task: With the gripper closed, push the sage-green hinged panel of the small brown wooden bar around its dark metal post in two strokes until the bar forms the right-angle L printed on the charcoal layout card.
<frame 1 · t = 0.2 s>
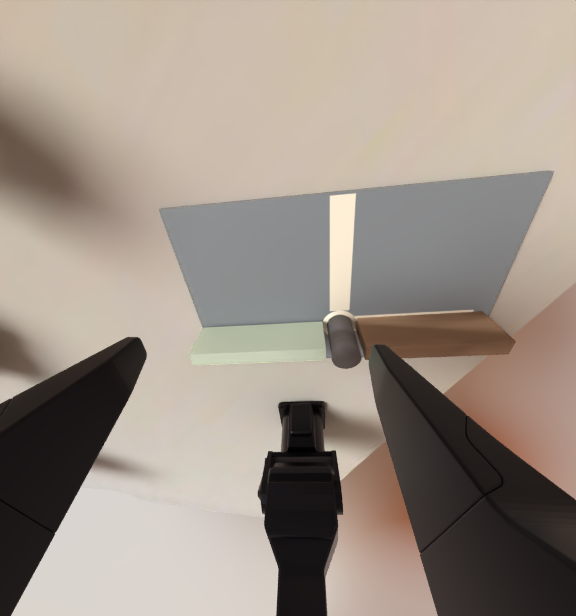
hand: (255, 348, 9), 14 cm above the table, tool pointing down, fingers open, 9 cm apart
swing panel: (259, 342, 25), point 3 cm above the table, hinge at 0.0°
brown wooden bar: (410, 336, 23), on the layout card
layout card: (339, 290, 24), on the table
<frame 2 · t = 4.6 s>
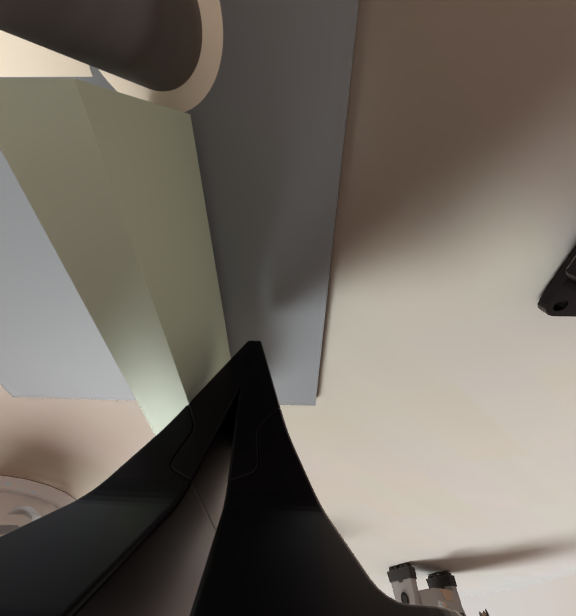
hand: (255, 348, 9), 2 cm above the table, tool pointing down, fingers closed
swing panel: (187, 344, 8), point 3 cm above the table, hinge at 0.5°, touching gripper
figurine: (428, 564, 35), on the table
layout card: (3, 27, 6), on the table
french press: (33, 498, 25), on the table
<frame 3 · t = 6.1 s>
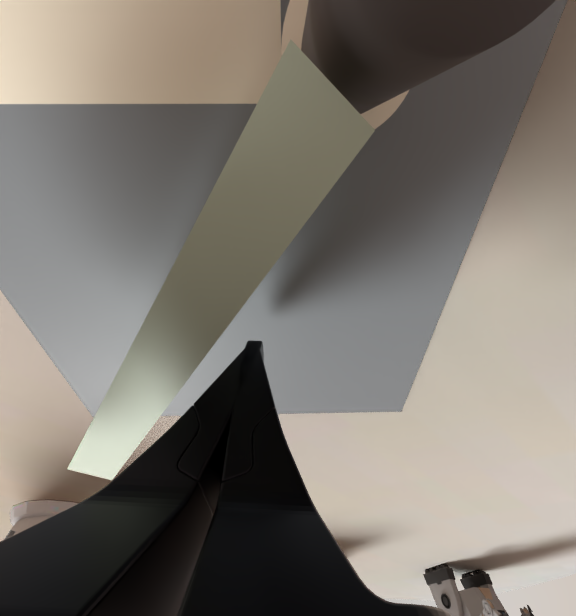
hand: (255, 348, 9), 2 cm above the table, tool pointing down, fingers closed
swing panel: (184, 322, 8), point 3 cm above the table, hinge at 36.8°, touching gripper
figurine: (464, 564, 35), on the table
layout card: (198, 57, 6), on the table
french press: (74, 521, 24), on the table
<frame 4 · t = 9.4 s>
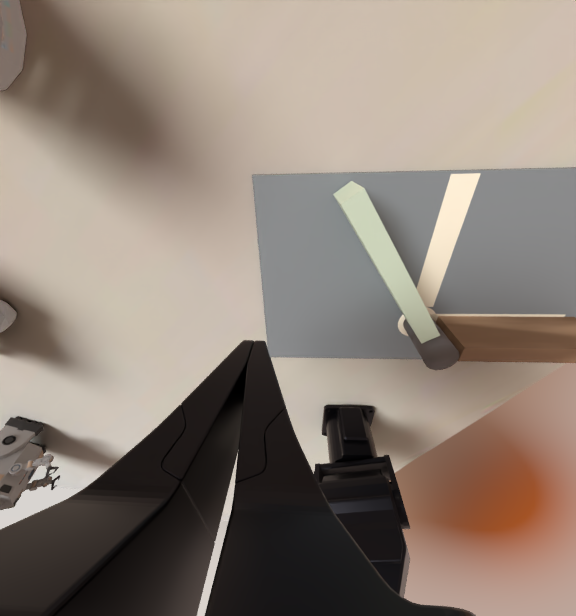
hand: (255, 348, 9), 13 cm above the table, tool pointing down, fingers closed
swing panel: (388, 267, 18), point 3 cm above the table, hinge at 54.9°
brown wooden bar: (503, 339, 21), on the layout card
figurine: (47, 435, 40), on the table
layout card: (426, 283, 22), on the table
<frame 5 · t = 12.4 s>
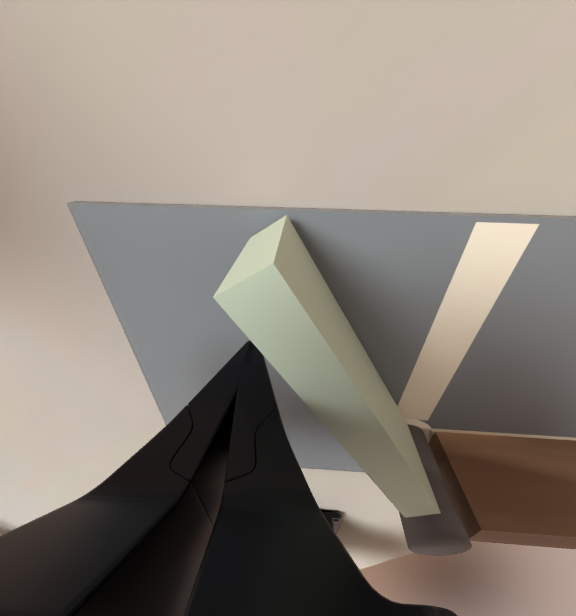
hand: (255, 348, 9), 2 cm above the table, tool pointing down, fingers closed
swing panel: (354, 388, 9), point 3 cm above the table, hinge at 57.7°, touching gripper
brown wooden bar: (543, 491, 13), on the layout card
layout card: (419, 388, 13), on the table
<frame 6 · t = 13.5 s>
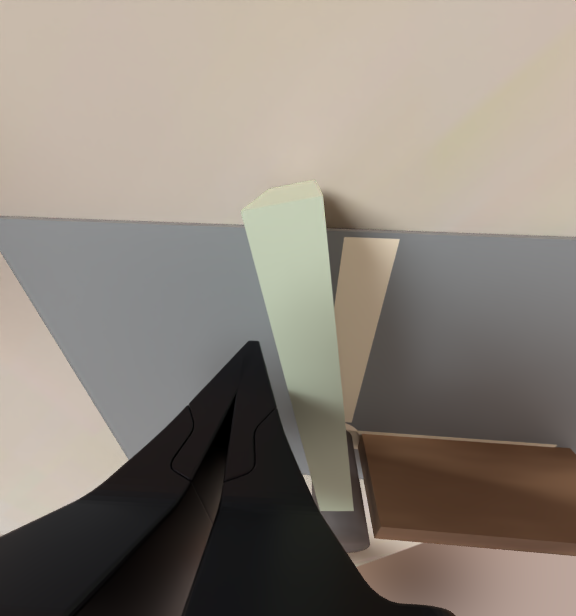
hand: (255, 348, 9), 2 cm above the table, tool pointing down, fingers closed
swing panel: (317, 374, 9), point 3 cm above the table, hinge at 78.5°, touching gripper
brown wooden bar: (455, 491, 13), on the layout card
layout card: (338, 391, 14), on the table
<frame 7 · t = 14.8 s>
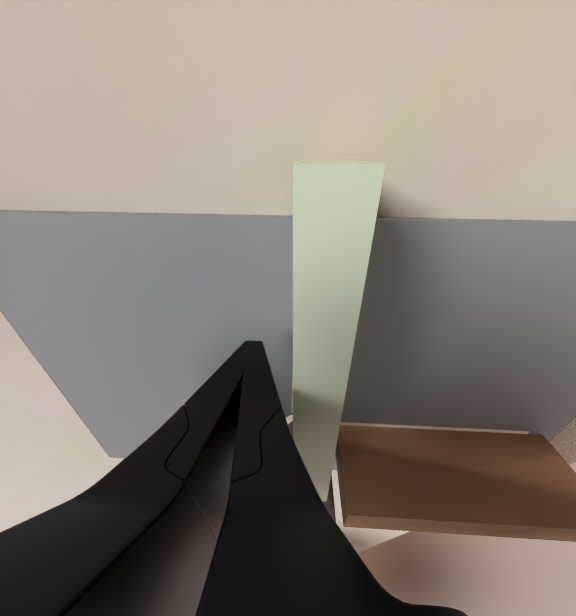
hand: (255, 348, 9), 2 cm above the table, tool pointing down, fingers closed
swing panel: (314, 362, 9), point 3 cm above the table, hinge at 88.8°, touching gripper
brown wooden bar: (425, 479, 13), on the layout card
layout card: (310, 382, 14), on the table
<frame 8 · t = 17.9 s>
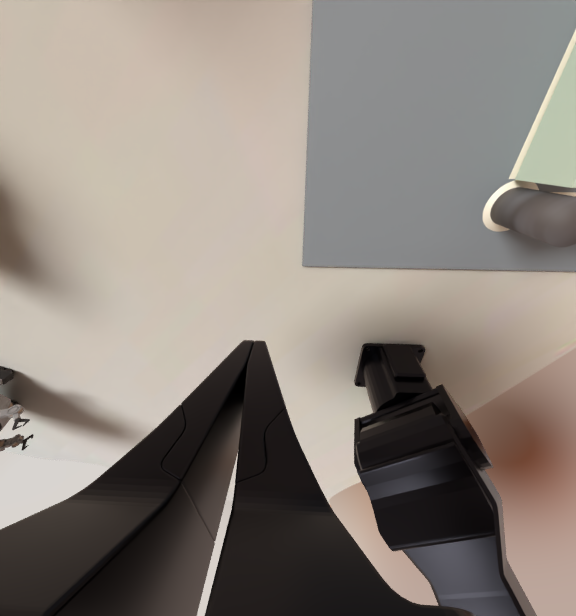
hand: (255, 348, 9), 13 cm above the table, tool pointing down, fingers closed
figurine: (19, 387, 33), on the table
layout card: (536, 140, 16), on the table
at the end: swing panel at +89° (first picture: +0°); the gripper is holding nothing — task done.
